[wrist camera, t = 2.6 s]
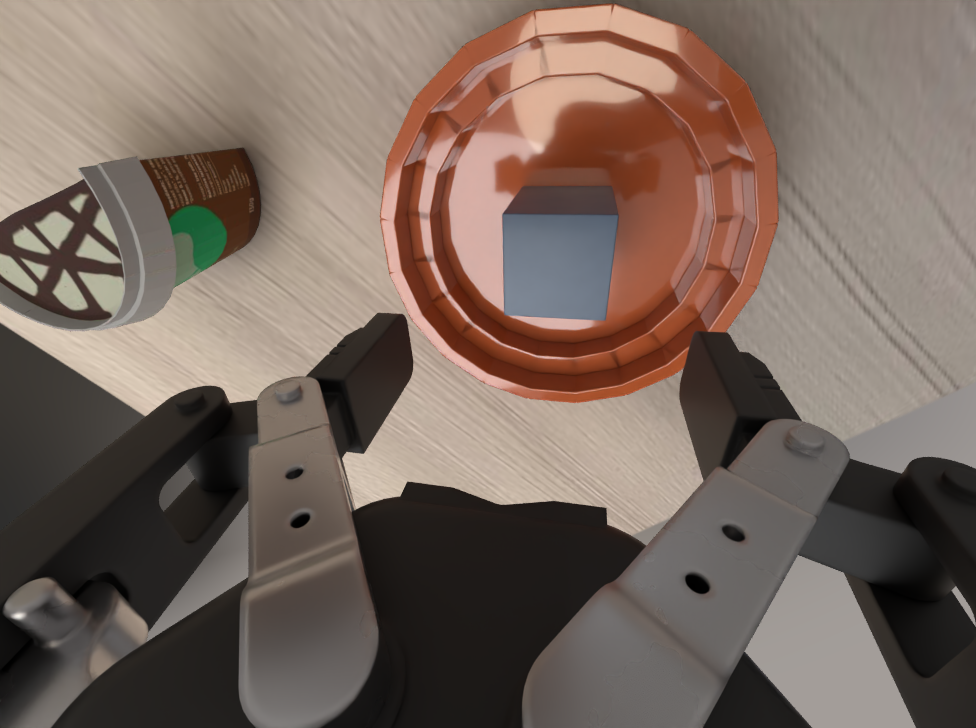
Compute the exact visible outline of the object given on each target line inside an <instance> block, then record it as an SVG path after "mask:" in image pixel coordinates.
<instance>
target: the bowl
mask: <svg viewBox="0 0 976 728" xmlns="http://www.w3.org/2000/svg"><path fill="white" fill-rule="evenodd" d="M775 151H776V148H775V146H774V144H773V141H772V139H771V137H770V134H769V132H768V130H767V127H766V125H765V123H764V120H763V118H762V116H761V113H760V111H759V109H758V107H757V104H756V102H755V100H754V97H753V95H752V93H751V90H750V88H749V86H748V84H747V83H745V80H744V79H743V78H742V77H741V76H740V75H739V74H738V73H737V72H736V71H734V70H733V69H732V68H731V67H730V66H729V65H728V64H727V63H726V62H725V61H724V60H723V59H722V58H721V57H719V56H718V55H717V54H716V53H715V52H714V51H713V50H712V49H711V48H710V47H709V46H708V45H707V44H705V43H704V42H703V41H702V40H701V39H700V38H699V37H698V36H697V35H696V34H695V33H694V32H693V31H692V30H689V29H688V28H687V27H684V26H681V25H678V24H675V23H672V22H669V21H666V20H663V19H660V18H657V17H654V16H651V15H648V14H645V13H642V12H639V11H636V10H633V9H631V8H628V7H625V6H622V5H619V4H616V3H615V4H613V3H607V4H595V5H583V6H571V7H559V8H547V9H536V10H535V11H534V10H532V11H530V12H528V13H526V14H524V15H522V16H520V17H518V18H516V19H514V20H512V21H510V22H508V23H506V24H504V25H502V26H500V27H498V28H496V29H494V30H492V31H490V32H488V33H486V34H484V35H482V36H480V37H478V38H476V39H474V40H472V41H470V42H468V43H466V44H465V45H464V46H463V47H462V48H461V49H460V50H459V51H458V52H457V53H456V54H455V55H454V56H453V57H452V58H451V59H450V61H449V62H448V63H447V64H446V65H445V66H444V67H443V68H442V69H441V70H440V71H439V72H438V73H437V74H436V75H435V76H434V78H433V79H432V80H431V81H430V82H429V83H428V84H427V85H426V86H425V87H424V88H423V89H422V90H421V91H420V92H419V93H418V95H417V96H416V98H415V99H414V101H413V103H412V105H411V107H410V109H409V111H408V114H407V116H406V118H405V120H404V122H403V125H402V127H401V129H400V131H399V133H398V136H397V138H396V140H395V142H394V144H393V146H392V149H391V151H390V153H389V155H388V159H387V163H386V171H385V180H384V188H383V196H382V204H381V212H380V218H381V219H380V222H381V228H382V234H383V240H384V245H385V251H386V257H387V263H388V269H389V272H390V273H389V274H390V276H391V278H392V281H393V283H394V285H395V287H396V289H397V291H398V293H399V295H400V297H401V299H402V301H403V303H404V305H405V308H406V310H407V312H408V314H409V316H410V318H411V319H412V321H413V322H414V323H415V324H416V325H417V327H418V328H419V329H420V330H421V331H422V332H423V333H424V335H425V336H426V337H427V338H428V339H429V340H430V342H431V343H432V344H433V345H434V346H435V347H436V348H437V350H438V351H439V352H440V353H441V354H442V355H443V356H444V357H445V358H447V359H448V360H450V361H451V362H453V363H454V364H456V365H457V366H459V367H460V368H462V369H463V370H465V371H466V372H468V373H469V374H471V375H472V376H474V377H475V378H477V379H478V380H480V381H481V382H483V383H484V384H487V385H490V386H493V387H496V388H499V389H501V390H504V391H507V392H510V393H513V394H516V395H518V396H521V397H524V398H529V399H537V400H548V401H559V402H570V403H576V402H577V403H580V402H587V401H593V400H599V399H606V398H612V397H618V396H625V395H628V394H631V393H633V392H635V391H638V390H640V389H642V388H644V387H647V386H649V385H651V384H654V383H656V382H658V381H661V380H663V379H665V378H668V377H670V376H672V375H674V374H675V373H678V372H679V371H680V370H681V369H683V368H684V366H685V362H686V358H687V354H688V350H689V346H690V342H691V338H692V336H693V334H694V332H695V331H708V332H726V331H727V329H728V328H729V326H730V325H731V324H732V322H733V321H734V319H735V318H736V317H737V315H738V314H739V312H740V311H741V310H742V308H743V307H744V305H745V304H746V303H747V301H748V300H749V298H750V297H751V296H752V294H753V293H754V291H755V290H756V289H757V286H758V284H759V281H760V278H761V275H762V272H763V269H764V266H765V263H766V259H767V256H768V253H769V250H770V247H771V244H772V241H773V238H774V235H775V232H776V229H777V225H778V224H777V223H778V221H779V217H778V181H777V153H776V152H775ZM523 186H612V188H613V192H614V197H615V201H616V206H617V210H618V214H619V218H618V227H617V235H616V243H615V251H614V259H613V267H612V275H611V283H610V291H609V299H608V307H607V315H606V320H605V321H600V320H582V319H563V318H545V317H527V316H509V315H504V279H503V227H502V214H503V213H504V211H505V210H506V208H507V207H508V206H509V204H510V203H511V202H512V200H513V199H514V197H515V196H516V195H517V193H518V192H519V191H520V189H521V188H522V187H523Z"/></svg>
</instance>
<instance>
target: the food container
mask: <svg viewBox="0 0 976 728" xmlns="http://www.w3.org/2000/svg"><path fill="white" fill-rule="evenodd" d="M78 171H79V172H80V174H81V175H82V177H83V178H84V179H83V180H81V181H80V182H78V183H76V184H74V185H72V186H70V187H68V188H66V189H64V190H62V191H60V192H58V193H56V194H54V195H52V196H50V197H48V198H46V199H44V200H42V201H40V202H37V203H35V204H33V205H31V206H29V207H26V208H24V209H22V210H20V211H18V212H15V213H14V214H12V215H10V216H9V217H7V218H6V219H4V220H3V221H1V222H0V304H1V305H3V306H5V307H7V308H8V309H10V310H12V311H14V312H16V313H18V314H19V315H21V316H24V317H26V318H28V319H30V320H33V321H35V322H37V323H40V324H43V325H46V326H50V327H53V328H57V329H62V330H68V331H88V330H105V329H110V328H115V327H119V326H123V325H127V324H131V323H135V322H139V321H143V320H145V319H147V318H149V317H152V316H154V315H155V314H156V313H157V312H159V311H160V310H161V309H162V308H163V307H164V306H165V304H166V303H167V301H168V300H169V298H170V297H171V294H172V290H173V288H174V287H176V286H178V285H179V284H181V283H183V282H185V281H186V280H188V279H190V278H191V277H193V276H195V275H197V274H198V273H200V272H202V271H203V270H205V269H207V268H209V267H210V266H212V265H214V264H216V263H217V262H219V261H221V260H222V259H224V258H226V257H228V256H229V255H231V254H233V253H234V252H236V251H238V250H240V249H241V248H243V247H244V246H245V245H247V244H248V243H249V242H250V240H251V239H252V238H253V236H254V235H255V232H256V230H257V228H258V224H259V220H260V210H261V202H260V193H259V188H258V184H257V179H256V176H255V173H254V171H253V168H252V165H251V163H250V160H249V158H248V156H247V154H246V152H245V150H244V148H236V149H228V150H220V151H212V152H203V153H195V154H187V155H178V156H170V157H162V158H154V159H145V160H139V159H138V158H137V156H136V157H131V158H126V159H120V160H115V161H110V162H104V163H99V164H98V165H95V166H89V167H82V168H78Z"/></svg>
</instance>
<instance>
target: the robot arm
mask: <svg viewBox="0 0 976 728" xmlns="http://www.w3.org/2000/svg"><path fill="white" fill-rule="evenodd" d="M329 353H330V354H329V355H326V356H325V357H324V359H323V360H322V361H321V362H320V363H319V364H318V365H317V366H316V367H315V368H314V369H313V370H312V371H311V372H310V373H309V374H308V375H307V376H306V377H304V376H299V377H291V378H286V379H283V380H280V381H278V382H275V383H273V384H271V385H270V386H268V387H267V388H265V389H264V390H263V391H262V392H261V393H260V395H259V396H258V398H257V400H253V401H244V402H236V403H229V401H228V398H227V396H226V394H225V392H224V390H223V389H222V388H220V387H216V386H202V387H196V388H192V389H189V390H186V391H183V392H181V393H179V394H177V395H174V396H173V397H171V398H169V399H168V400H166V401H165V402H164V403H163V404H161V405H160V406H159V407H157V408H156V409H155V410H154V411H152V412H151V413H150V414H148V415H147V416H146V417H145V418H143V419H142V420H141V421H140V422H138V423H137V424H136V425H135V426H133V427H132V428H131V429H130V430H128V431H127V432H126V433H124V434H123V435H122V436H120V437H119V438H118V439H117V440H115V441H114V442H113V443H112V444H110V445H109V446H108V447H106V448H105V449H104V450H103V451H101V452H100V453H99V454H98V455H96V456H95V457H94V458H92V459H91V460H90V461H89V462H87V463H86V464H85V465H83V466H82V467H81V468H80V469H78V470H77V471H76V472H74V473H73V474H72V475H71V476H69V477H68V478H67V479H66V480H65V481H63V482H62V483H60V484H59V485H58V486H57V487H55V488H54V489H53V490H51V491H50V492H49V493H48V494H46V495H45V496H44V497H43V498H41V499H40V500H39V501H38V502H36V503H35V504H34V505H32V506H31V507H30V508H29V509H27V510H26V511H25V512H23V513H22V514H21V515H20V516H18V517H17V518H16V519H15V520H13V521H12V522H11V523H10V524H8V525H7V526H6V527H4V528H3V529H2V530H0V728H812V727H811V726H810V725H809V724H808V723H807V721H806V720H805V719H804V718H803V717H802V716H801V715H800V714H799V712H798V711H797V710H796V709H795V708H794V707H793V706H792V705H791V704H790V702H789V701H788V700H787V699H786V698H785V697H784V696H783V694H782V693H781V692H780V691H779V690H778V689H777V688H776V687H775V685H774V684H773V683H772V682H771V681H770V680H769V679H768V677H767V676H766V675H765V674H764V673H763V672H762V671H761V670H760V669H759V668H758V666H757V665H756V664H755V663H754V662H753V661H752V660H751V658H750V657H749V656H748V655H747V654H746V653H745V652H744V651H745V649H746V647H747V646H748V644H749V642H750V640H751V638H752V637H753V635H754V633H755V631H756V629H757V627H758V626H759V624H760V622H761V620H762V618H763V616H764V615H765V613H766V611H767V609H768V608H769V606H770V604H771V602H772V600H773V599H774V597H775V595H776V593H777V591H778V590H779V588H780V586H781V584H782V582H783V581H784V579H785V577H786V575H787V573H788V572H789V570H790V568H791V566H792V564H793V563H794V561H795V559H796V557H797V555H799V556H802V557H805V558H808V559H810V560H812V561H815V562H818V563H821V564H823V565H826V566H828V567H831V568H833V569H836V570H838V571H841V572H844V574H845V576H846V578H847V580H848V583H849V585H850V587H851V589H852V591H853V593H854V595H855V598H856V600H857V602H858V604H859V606H860V608H861V610H862V613H863V615H864V617H865V619H866V621H867V623H868V625H869V628H870V630H871V632H872V634H873V636H874V638H875V640H876V643H877V645H878V646H879V649H880V651H881V653H882V655H883V658H884V660H885V662H886V664H887V666H888V668H889V670H890V672H891V675H892V677H893V679H894V681H895V683H896V685H897V687H898V690H899V692H900V694H901V696H902V698H903V700H904V703H905V705H906V707H907V709H908V711H909V713H910V716H911V718H912V720H913V722H914V724H915V726H916V728H976V627H975V625H974V624H973V622H972V621H971V619H970V618H969V616H968V615H967V613H966V612H965V610H964V609H963V607H962V606H961V604H960V603H959V601H958V600H957V598H956V597H955V595H954V594H953V592H952V591H951V590H952V589H953V588H954V587H955V586H957V588H958V589H959V591H960V592H961V594H962V595H963V597H964V598H965V599H966V601H967V603H968V604H969V606H970V608H971V610H972V612H973V614H974V617H975V622H976V469H975V468H972V467H970V466H968V465H965V464H962V463H958V462H956V461H952V460H948V459H942V458H936V457H922V458H917V459H914V460H912V461H911V462H910V463H909V464H908V466H907V467H906V469H905V470H904V472H903V473H902V474H901V473H897V472H894V471H890V470H887V469H883V468H880V467H876V466H873V465H869V464H866V463H862V462H859V461H856V460H853V459H850V454H849V452H848V449H847V448H846V446H845V445H844V444H843V443H842V442H841V441H840V440H839V439H838V438H837V437H835V436H834V435H832V434H831V433H829V432H828V431H826V430H824V429H822V428H820V427H818V426H815V425H812V424H810V423H806V422H803V421H802V420H801V419H800V417H799V416H798V414H797V412H796V411H795V409H794V408H793V406H792V405H791V403H790V402H789V400H788V399H787V397H786V396H785V394H784V393H783V391H782V390H780V387H779V385H778V383H777V382H776V380H775V379H773V376H772V374H771V373H770V371H769V370H768V368H767V367H766V365H765V364H764V363H763V362H761V361H760V360H758V359H757V358H755V357H754V356H753V355H751V354H750V353H747V352H739V350H738V348H737V347H736V345H735V343H734V342H733V340H732V338H731V337H730V335H729V334H728V333H726V332H708V331H695V332H694V334H693V336H692V338H691V342H690V346H689V350H688V354H687V358H686V362H685V366H684V370H683V374H682V378H681V382H680V403H681V407H682V410H683V414H684V417H685V420H686V424H687V427H688V430H689V434H690V437H691V440H692V444H693V447H694V450H695V454H696V457H697V460H698V464H699V467H700V470H701V474H702V477H703V480H704V482H703V483H702V484H701V485H700V486H699V487H698V488H697V489H696V491H695V492H694V493H693V494H692V495H691V496H690V497H689V498H688V500H687V501H686V502H685V503H684V504H683V505H682V506H681V508H680V509H679V510H678V511H677V512H676V513H675V514H674V515H673V517H672V518H671V519H670V520H669V521H668V522H667V523H666V525H665V526H664V527H663V528H662V529H661V530H660V531H659V532H658V534H657V535H656V536H655V537H654V538H653V539H652V540H651V541H650V543H649V544H648V545H647V546H646V545H644V544H643V543H642V542H641V541H639V540H637V539H636V538H634V537H632V536H631V535H629V534H627V533H625V532H623V531H621V530H619V529H617V528H614V527H612V526H609V525H607V511H606V508H603V507H595V506H587V505H580V504H572V503H565V502H557V501H549V502H536V503H523V504H510V505H499V504H495V503H493V502H490V501H487V500H485V499H482V498H479V497H477V496H474V495H471V494H469V493H466V492H463V491H461V490H458V489H455V488H452V487H444V486H437V485H429V484H422V483H414V482H407V484H406V486H405V488H404V490H403V492H402V494H401V496H400V497H393V498H387V499H383V500H379V501H376V502H372V503H370V504H367V505H365V506H362V507H360V508H358V509H356V507H355V504H354V500H353V496H352V493H351V489H350V485H349V481H348V478H347V474H346V470H345V466H344V463H343V460H342V457H343V456H344V454H345V453H346V452H353V453H362V454H364V453H365V451H366V450H367V448H368V446H369V445H370V443H371V441H372V440H373V438H374V437H375V435H376V433H377V432H378V430H379V429H380V427H381V425H382V424H383V422H384V421H385V419H386V417H387V416H388V414H389V412H390V411H391V409H392V408H393V406H394V404H395V403H396V401H397V400H398V398H399V396H400V395H401V393H402V392H403V390H404V388H405V387H406V385H407V384H408V382H409V380H410V378H411V376H412V372H413V356H412V350H411V343H410V337H409V330H408V324H407V320H406V317H405V316H404V315H403V314H392V313H377V314H376V315H375V316H374V317H373V318H372V319H371V320H370V321H369V322H368V323H367V325H366V326H365V327H364V328H359V329H358V330H356V331H354V332H352V333H350V334H348V335H346V336H345V337H344V338H343V339H342V340H341V341H340V342H339V343H338V344H337V347H334V348H333V349H332V350H331V351H330V352H329ZM185 463H186V464H187V466H188V468H189V469H190V471H191V473H192V475H193V476H194V478H195V479H194V480H193V481H192V482H191V484H189V486H188V487H187V488H186V489H185V490H184V491H183V492H182V493H181V494H180V495H179V496H178V497H177V498H176V499H175V500H174V501H173V503H172V504H171V505H170V506H169V507H168V508H167V509H166V510H165V511H164V512H163V511H162V509H161V507H160V505H159V495H160V491H161V489H162V487H163V486H164V484H165V483H166V482H167V481H168V480H169V479H170V478H171V477H172V476H173V475H174V474H175V473H176V472H177V471H178V470H179V469H180V468H181V467H182V466H183V465H184V464H185ZM248 500H249V575H248V578H246V579H245V580H243V581H242V582H240V583H238V584H237V585H235V586H234V587H232V588H231V589H229V590H227V591H226V592H224V593H223V594H221V595H220V596H218V597H217V598H215V599H214V600H212V601H210V602H209V603H207V604H205V605H204V606H202V607H201V608H199V609H198V610H196V611H195V612H193V613H191V614H190V615H188V616H187V617H185V618H183V619H182V620H180V621H179V622H177V623H176V624H174V625H173V626H171V627H169V628H168V629H166V630H165V631H163V632H162V633H160V634H159V635H157V636H155V637H154V638H152V639H151V640H149V641H148V642H146V641H147V638H148V632H149V630H150V629H151V628H152V627H153V625H154V624H155V622H156V621H157V620H158V619H159V617H160V616H161V615H162V613H163V612H164V611H165V610H166V608H167V607H168V606H169V604H170V603H171V602H172V600H173V599H174V597H175V596H176V595H177V594H178V592H179V591H180V590H181V588H182V587H183V586H184V584H185V583H186V582H187V581H188V579H189V578H190V576H191V575H192V574H193V573H194V571H195V570H196V569H197V567H198V566H199V565H200V563H201V562H202V561H203V559H204V558H205V557H206V555H207V554H208V553H209V552H210V550H211V549H212V548H213V546H214V545H215V544H216V542H217V541H218V540H219V538H220V537H221V536H222V534H223V533H224V532H225V530H226V529H227V528H228V526H229V525H230V524H231V523H232V521H233V520H234V519H235V517H236V516H237V515H238V513H239V512H240V511H241V509H242V508H243V507H244V505H245V504H246V503H247V501H248Z"/></svg>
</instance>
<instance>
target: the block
mask: <svg viewBox="0 0 976 728" xmlns="http://www.w3.org/2000/svg"><path fill="white" fill-rule="evenodd" d="M618 218H619V214H618V210H617V206H616V201H615V197H614V192H613V188H612V186H523V187H522V188H521V189H520V191H519V192H518V193H517V195H516V196H515V197H514V199H513V200H512V202H511V203H510V204H509V206H508V207H507V208H506V210H505V211H504V213H503V214H502V227H503V279H504V315H509V316H527V317H545V318H563V319H582V320H600V321H605V320H606V315H607V307H608V299H609V291H610V283H611V275H612V267H613V259H614V251H615V243H616V235H617V227H618Z"/></svg>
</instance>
